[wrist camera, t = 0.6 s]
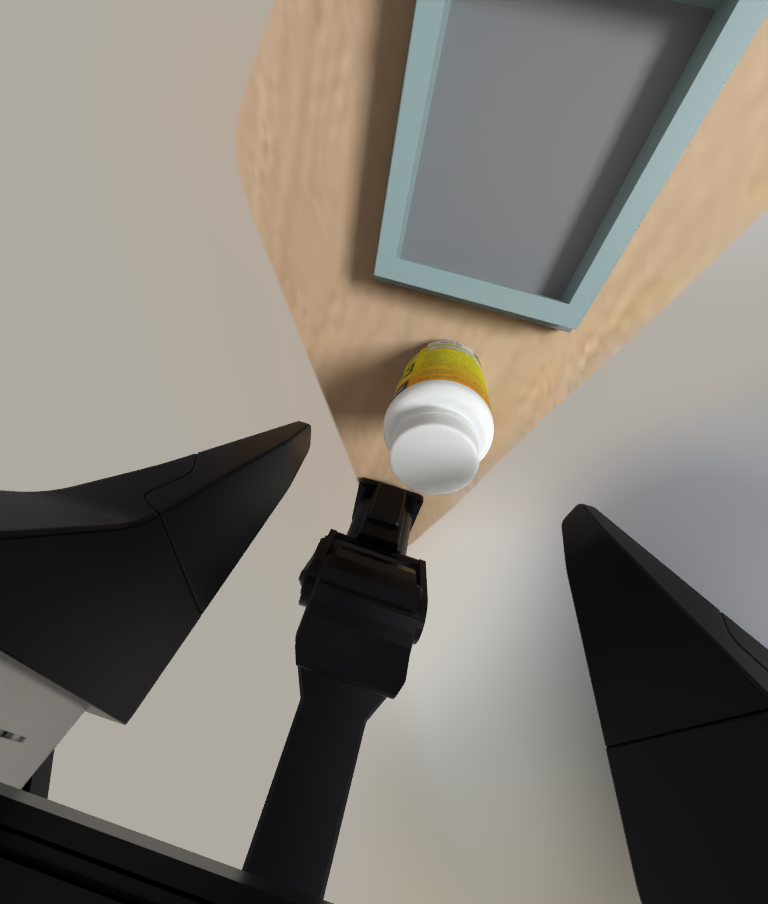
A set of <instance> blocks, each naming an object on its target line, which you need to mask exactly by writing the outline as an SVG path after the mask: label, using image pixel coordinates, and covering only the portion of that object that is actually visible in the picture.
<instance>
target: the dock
mask: <svg viewBox="0 0 768 904" xmlns="http://www.w3.org/2000/svg"><path fill="white" fill-rule="evenodd" d="M767 14H768V0H415V4H414V11H413V17H412V24H411V30H410V37H409V43H408V50H407V56H406V63H405V69H404V76H403V82H402V89H401V95H400V102H399V108H398V115H397V121H396V128H395V134H394V141H393V147H392V154H391V160H390V167H389V173H388V180H387V186H386V193H385V199H384V206H383V212H382V219H381V225H380V232H379V238H378V245H377V251H376V258H375V265H374V271H373V278H372V279H374V280H378V281H382V282H385V283H389V284H393V285H396V286H400V287H404V288H407V289H411V290H415V291H418V292H422V293H426V294H430V295H433V296H437V297H441V298H444V299H448V300H452V301H455V302H459V303H463V304H466V305H470V306H474V307H477V308H481V309H485V310H488V311H492V312H496V313H499V314H503V315H507V316H510V317H514V318H518V319H521V320H525V321H529V322H532V323H536V324H540V325H543V326H547V327H551V328H554V329H558V330H562V331H565V332H569V333H570V332H571V330H572V329H575V330H576V329H577V328H578V326H579V324H580V323H581V321H582V319H583V318H584V316H585V314H586V313H587V311H588V309H589V308H590V306H591V304H592V303H593V301H594V299H595V298H596V296H597V295H598V293H599V291H600V290H601V288H602V286H603V285H604V283H605V281H606V280H607V278H608V276H609V275H610V273H611V271H612V270H613V268H614V266H615V265H616V263H617V261H618V260H619V258H620V257H621V255H622V253H623V252H624V250H625V248H626V247H627V245H628V243H629V242H630V240H631V238H632V237H633V235H634V233H635V232H636V230H637V228H638V227H639V225H640V223H641V222H642V220H643V219H644V217H645V215H646V214H647V212H648V210H649V209H650V207H651V205H652V204H653V202H654V200H655V199H656V197H657V195H658V194H659V192H660V190H661V189H662V187H663V185H664V184H665V182H666V181H667V179H668V177H669V176H670V174H671V172H672V171H673V169H674V167H675V166H676V164H677V162H678V161H679V159H680V157H681V156H682V154H683V152H684V151H685V149H686V147H687V146H688V144H689V143H690V141H691V139H692V138H693V136H694V134H695V133H696V131H697V129H698V128H699V126H700V124H701V123H702V121H703V119H704V118H705V116H706V114H707V113H708V111H709V109H710V108H711V106H712V105H713V103H714V101H715V100H716V98H717V96H718V95H719V93H720V91H721V90H722V88H723V86H724V85H725V83H726V81H727V80H728V78H729V76H730V75H731V73H732V71H733V70H734V68H735V67H736V65H737V63H738V62H739V60H740V58H741V57H742V55H743V53H744V52H745V50H746V48H747V47H748V45H749V43H750V42H751V40H752V38H753V37H754V35H755V33H756V32H757V30H758V29H759V27H760V25H761V24H762V22H763V20H764V19H765V17H766V15H767Z"/></svg>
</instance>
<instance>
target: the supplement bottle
mask: <svg viewBox="0 0 768 904" xmlns="http://www.w3.org/2000/svg"><path fill="white" fill-rule="evenodd" d="M383 434H384V439H385V442H386V445H387V447H388V449H389V451H390V453H389V461H390V466H391V469H392V471H393V473H394V474H395V476H396V477H397V478H398V480H399V481H400V482H402V483H403V484H404V485H405V486H407V487H409V488H410V489H412V490H414V491H417V492H420V493H424V494H429V495H443V494H449V493H453V492H455V491H458V490H460V489H462V488H463V487H465V486H466V485H467V484H469V483H470V482H471V481H472V479H473V478H474V476H475V475H476V473H477V471H478V468H479V462H480V461H481V460H482V459H483V458H484V456H485V455H486V453H487V452H488V450H489V448H490V446H491V444H492V440H493V435H494V424H493V417H492V413H491V408H490V403H489V398H488V394H487V388H486V384H485V379H484V373H483V369H482V366H481V363H480V361H479V359H478V357H477V355H476V354H475V353H474V352H473V351H472V350H471V349H470V348H469V347H467V346H466V345H464V344H462V343H459V342H456V341H452V340H439V341H434V342H431V343H428V344H426V345H424V346H423V347H421V348H420V349H418V350H417V351H416V352H415V353H414V354H413V356H412V357H411V358H410V360H409V361H408V363H407V365H406V367H405V369H404V372H403V374H402V377H401V379H400V381H399V384H398V386H397V388H396V391H395V393H394V395H393V398H392V400H391V402H390V405H389V407H388V409H387V412H386V415H385V418H384V424H383Z"/></svg>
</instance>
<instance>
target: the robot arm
mask: <svg viewBox="0 0 768 904" xmlns="http://www.w3.org/2000/svg"><path fill="white" fill-rule="evenodd" d="M310 439H311V426H310V425H309V424H307V423H304V422H300V421H298V422H294V423H291V424H288V425H285V426H281V427H278V428H275V429H272V430H269V431H266V432H262V433H259V434H256V435H253V436H250V437H247V438H243V439H240V440H237V441H234V442H231V443H228V444H225V445H221V446H218V447H215V448H212V449H209V450H205V451H202V452H199V453H198V454H193V455H190V456H187V457H183V458H180V459H176V460H174V461H170V462H167V463H163V464H160V465H156V466H152V467H148V468H145V469H141V470H137V471H133V472H129V473H125V474H121V475H117V476H113V477H109V478H105V479H101V480H97V481H93V482H89V483H85V484H81V485H77V486H73V487H69V488H64V489H57V490H51V491H40V492H15V491H0V904H333V903H330V902H327V901H324V900H323V898H324V894H325V889H326V885H327V881H328V877H329V873H330V868H331V865H332V861H333V856H334V852H335V848H336V844H337V840H338V836H339V831H340V827H341V823H342V819H343V815H344V811H345V807H346V802H347V798H348V794H349V790H350V786H351V781H352V778H353V773H354V769H355V765H356V761H357V757H358V752H359V748H360V744H361V740H362V736H363V732H364V728H365V724H366V722H367V720H368V719H369V718H370V717H371V716H372V714H373V713H374V712H375V711H376V709H377V708H378V707H379V706H380V705H381V704H382V702H383V701H384V700H385V699H386V698H387V697H389V698H391V699H394V698H395V697H396V695H397V694H398V692H399V691H400V689H401V688H402V686H403V685H404V683H405V680H406V675H407V668H408V662H409V656H410V652H411V648H412V644H416V643H417V642H418V640H419V638H420V636H421V633H422V630H423V627H424V623H425V619H426V613H427V603H428V597H427V578H426V562H425V561H423V560H420V559H419V560H417V559H414V558H411V557H408V556H406V551H407V546H408V540H409V534H410V531H411V528H412V526H413V524H414V522H415V519H416V517H417V515H418V513H419V510H420V508H421V506H422V504H423V497H422V496H421V495H419V494H415V493H412V492H409V491H405V490H402V489H399V488H396V487H392V486H389V485H386V484H382V483H379V482H376V481H372V480H369V479H365V478H363V479H361V481H360V483H359V488H358V492H357V497H356V502H355V507H354V511H353V516H352V523H351V525H350V528H349V531H348V533H347V535H344V534H341V533H338V532H337V531H336V530H333V529H331V530H330V532H329V534H328V536H325V538H321V540H320V542H319V544H318V546H317V549H316V551H315V553H314V554H313V556H312V558H311V559H310V560H309V562H308V563H307V565H306V566H305V568H304V569H303V570H302V572H301V574H300V577H299V581H300V584H301V587H302V588H301V597H300V600H299V605H302V606H305V607H306V609H305V612H304V614H303V617H302V620H301V622H300V625H299V628H298V630H297V634H296V640H295V641H296V644H295V650H296V651H295V652H296V665H297V666H298V675H299V685H300V696H301V698H300V702H299V705H298V708H297V711H296V714H295V717H294V720H293V723H292V726H291V729H290V732H289V734H288V737H287V740H286V743H285V746H284V749H283V752H282V755H281V758H280V761H279V763H278V766H277V769H276V772H275V775H274V778H273V781H272V784H271V787H270V790H269V793H268V796H267V799H266V801H265V804H264V807H263V810H262V813H261V816H260V819H259V822H258V825H257V828H256V830H255V833H254V836H253V839H252V842H251V845H250V848H249V851H248V854H247V857H246V860H245V863H244V866H243V868H242V870H240V869H237V868H234V867H231V866H229V865H226V864H223V863H220V862H218V861H215V860H212V859H209V858H206V857H204V856H201V855H198V854H196V853H193V852H190V851H187V850H185V849H182V848H179V847H176V846H174V845H171V844H168V843H166V842H163V841H160V840H157V839H154V838H152V837H149V836H146V835H144V834H141V833H138V832H135V831H133V830H130V829H127V828H124V827H122V826H119V825H116V824H114V823H111V822H108V821H105V820H103V819H100V818H97V817H94V816H92V815H89V814H86V813H83V812H81V811H78V810H75V809H72V808H70V807H67V806H64V805H62V804H58V803H56V802H53V801H51V800H48V799H47V797H48V791H49V783H50V776H51V769H52V761H53V755H54V748H55V747H56V746H57V744H58V743H59V742H60V741H61V739H62V738H63V737H64V736H65V734H66V733H67V732H68V731H69V730H70V728H71V727H72V726H73V725H74V723H75V722H76V721H77V720H78V719H79V717H80V716H81V715H82V714H83V712H84V711H86V712H89V713H92V714H95V715H98V716H100V717H104V718H106V719H109V720H112V721H115V722H118V723H121V724H124V725H125V724H126V723H127V722H128V721H129V720H130V718H131V717H132V716H133V714H134V713H135V712H136V710H137V708H138V707H139V706H140V704H141V703H142V701H143V700H144V698H145V697H146V695H147V694H148V693H149V691H150V690H151V688H152V687H153V685H154V684H155V682H156V681H157V680H158V678H159V676H160V675H161V674H162V672H163V671H164V669H165V668H166V666H167V665H168V663H169V662H170V661H171V659H172V658H173V656H174V655H175V653H176V652H177V650H178V649H179V648H180V646H181V644H182V643H183V642H184V640H185V639H186V637H187V636H188V634H189V633H190V632H191V630H192V628H193V627H194V626H195V624H196V623H197V621H198V620H199V618H200V617H201V614H203V612H204V611H205V609H206V608H207V606H208V605H209V603H210V602H211V601H212V599H213V598H214V596H215V595H216V593H217V592H218V590H219V589H220V587H221V586H222V585H223V583H224V582H225V580H226V579H227V577H228V576H229V574H230V573H231V572H232V570H233V569H234V567H235V566H236V564H237V563H238V561H239V560H240V558H241V557H242V556H243V554H244V553H245V551H246V550H247V548H248V547H249V545H250V544H251V542H252V541H253V539H254V538H255V537H256V535H257V534H258V532H259V531H260V529H261V528H262V526H263V525H264V523H265V522H266V521H267V519H268V517H269V516H270V515H271V513H272V512H273V510H274V509H275V508H276V506H277V505H278V503H279V502H280V500H281V499H282V497H283V496H284V494H285V493H286V492H287V490H288V488H289V487H290V485H291V483H292V481H293V479H294V478H295V476H296V474H297V472H298V470H299V468H300V466H301V464H302V462H303V460H304V458H305V457H306V455H307V453H308V451H309V448H310ZM364 483H366V484H364ZM417 499H419V500H417ZM562 535H563V544H564V553H565V561H566V569H567V575H568V580H569V584H570V589H571V593H572V598H573V602H574V607H575V611H576V616H577V620H578V624H579V629H580V633H581V638H582V642H583V647H584V651H585V656H586V660H587V664H588V669H589V674H590V678H591V683H592V687H593V691H594V696H595V701H596V705H597V710H598V714H599V719H600V723H601V728H602V732H603V736H604V741H605V745H606V747H607V748H606V751H607V756H608V760H609V765H610V769H611V774H612V778H613V783H614V787H615V792H616V796H617V801H618V805H619V809H620V814H621V819H622V823H623V828H624V832H625V837H626V841H627V846H628V850H629V855H630V859H631V863H632V868H633V873H634V877H635V882H636V886H637V890H638V893H639V896H640V900H641V903H642V904H768V649H767V648H765V647H764V646H763V645H762V644H760V643H759V642H758V641H757V640H755V639H754V638H753V637H752V636H751V635H749V634H748V633H746V632H745V631H744V630H743V629H741V627H739V626H738V625H737V624H736V623H735V622H733V621H732V620H731V619H730V618H728V617H727V616H726V615H725V614H723V613H721V612H720V611H719V609H717V608H716V607H715V606H714V605H713V604H711V603H710V602H709V601H708V600H706V599H705V598H704V597H703V596H701V595H700V594H699V593H698V592H697V591H696V590H694V589H693V588H692V587H691V586H689V585H688V584H687V583H686V582H685V581H683V580H682V579H681V578H680V577H678V576H677V575H676V574H675V573H674V572H672V571H671V570H670V569H669V568H668V567H666V566H665V565H664V564H663V563H661V562H660V561H659V560H658V559H657V558H655V557H654V556H653V555H652V554H651V553H649V552H648V551H647V550H646V549H644V548H643V547H642V546H641V545H640V544H638V543H637V542H636V541H635V540H633V539H632V538H631V537H630V536H629V535H627V534H626V533H625V532H624V531H622V530H621V529H620V528H619V527H618V526H616V525H615V524H614V523H613V522H612V521H610V520H609V519H608V518H607V517H605V516H604V515H603V514H602V513H600V512H599V511H598V510H597V509H596V508H594V507H592V506H588V505H585V504H578V505H577V506H576V507H575V508H574V509H573V510H572V511H571V512H570V513H569V514H568V515H567V516H566V517H565V519H564V520H563V522H562Z"/></svg>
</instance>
